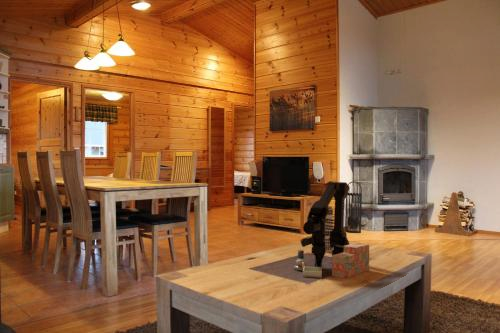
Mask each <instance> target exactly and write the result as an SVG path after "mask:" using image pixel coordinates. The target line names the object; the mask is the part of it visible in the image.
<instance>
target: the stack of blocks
mask: <svg viewBox="0 0 500 333" xmlns="http://www.w3.org/2000/svg"><path fill="white" fill-rule="evenodd" d="M369 270H370V244H369V243H361V242H353V243H349V245H345V246H344V253H339V254H336V255H333V258H332V260H331V276H332V277H336V278H340V279H345V278H349V277H352V276H356V275H357V274H358V275H359V274H361V273H364V272H367V271H369Z"/></svg>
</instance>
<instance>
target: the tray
mask: <svg viewBox="0 0 500 333" xmlns="http://www.w3.org/2000/svg"><path fill="white" fill-rule="evenodd" d="M322 273H323V266H322V267H314V266H307V265H306V266H304V267H303V271H302V277H303V278H320V279H321V278H322V277H323V275H322Z"/></svg>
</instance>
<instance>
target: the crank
mask: <svg viewBox="0 0 500 333" xmlns="http://www.w3.org/2000/svg"><path fill="white" fill-rule="evenodd" d="M304 254H305V252H304V250H303V249H300V250H299V249H298V250H297V259H296V264H295V265H296V266H302V262H304Z"/></svg>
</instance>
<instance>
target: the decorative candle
mask: <svg viewBox="0 0 500 333" xmlns="http://www.w3.org/2000/svg"><path fill="white" fill-rule="evenodd" d="M328 208H329V211H328V214H327V216H326V219H327V221H325V253H332V250H333V247H330V241H329V237H330V231H332V230H333V228H334V208H333V207H332V206H331V205H328Z"/></svg>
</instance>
